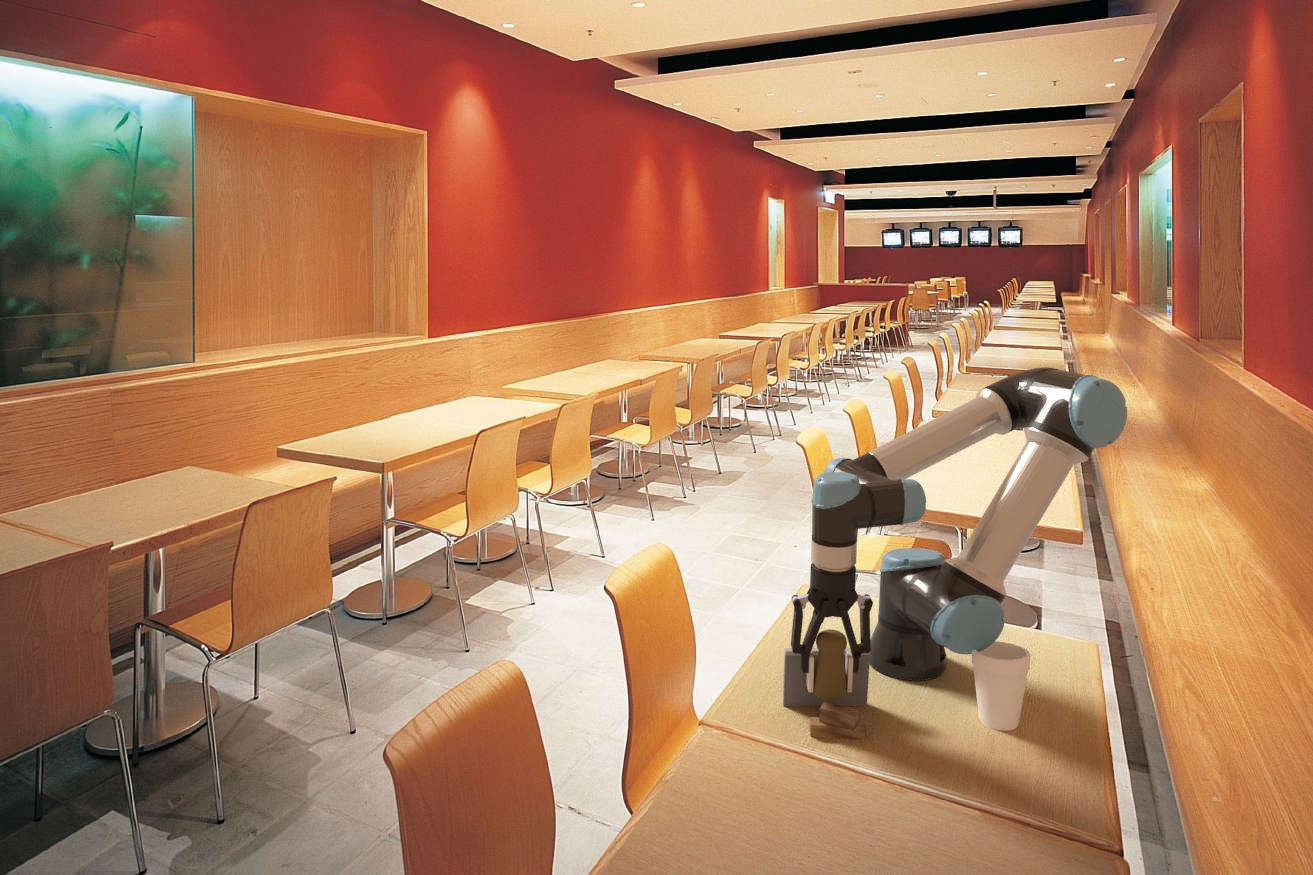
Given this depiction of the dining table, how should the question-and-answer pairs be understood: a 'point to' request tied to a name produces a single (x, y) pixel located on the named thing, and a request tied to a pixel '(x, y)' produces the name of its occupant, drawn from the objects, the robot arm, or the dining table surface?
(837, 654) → the cork
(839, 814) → the dining table surface
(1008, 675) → the foam cup
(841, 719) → the offcut top
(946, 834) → the dining table surface
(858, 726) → the offcut low
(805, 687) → the board
